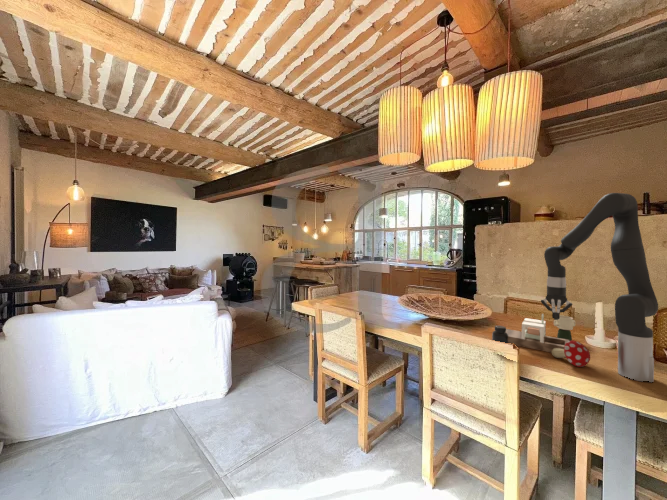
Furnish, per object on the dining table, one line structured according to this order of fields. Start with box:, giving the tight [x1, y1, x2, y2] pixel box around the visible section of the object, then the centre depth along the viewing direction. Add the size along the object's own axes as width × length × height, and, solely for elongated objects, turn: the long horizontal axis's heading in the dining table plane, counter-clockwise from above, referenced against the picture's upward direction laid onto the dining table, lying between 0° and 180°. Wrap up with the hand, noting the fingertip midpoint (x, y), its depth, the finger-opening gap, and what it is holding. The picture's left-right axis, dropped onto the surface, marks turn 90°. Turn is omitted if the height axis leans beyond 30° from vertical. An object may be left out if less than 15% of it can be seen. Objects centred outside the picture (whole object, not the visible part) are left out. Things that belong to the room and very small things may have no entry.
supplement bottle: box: [491, 324, 508, 343], centre depth 135 cm, size 7×7×12 cm
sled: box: [525, 313, 545, 340], centre depth 142 cm, size 8×8×13 cm
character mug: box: [553, 314, 576, 341], centre depth 148 cm, size 11×7×13 cm, turn 85°
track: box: [506, 328, 569, 354], centre depth 142 cm, size 28×14×4 cm, turn 48°
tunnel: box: [521, 317, 547, 343], centre depth 142 cm, size 9×14×8 cm, turn 138°
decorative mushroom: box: [551, 339, 591, 368], centre depth 121 cm, size 11×11×15 cm
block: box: [527, 327, 540, 336], centre depth 142 cm, size 5×5×5 cm
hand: (556, 319), depth 136 cm, fingers closed
